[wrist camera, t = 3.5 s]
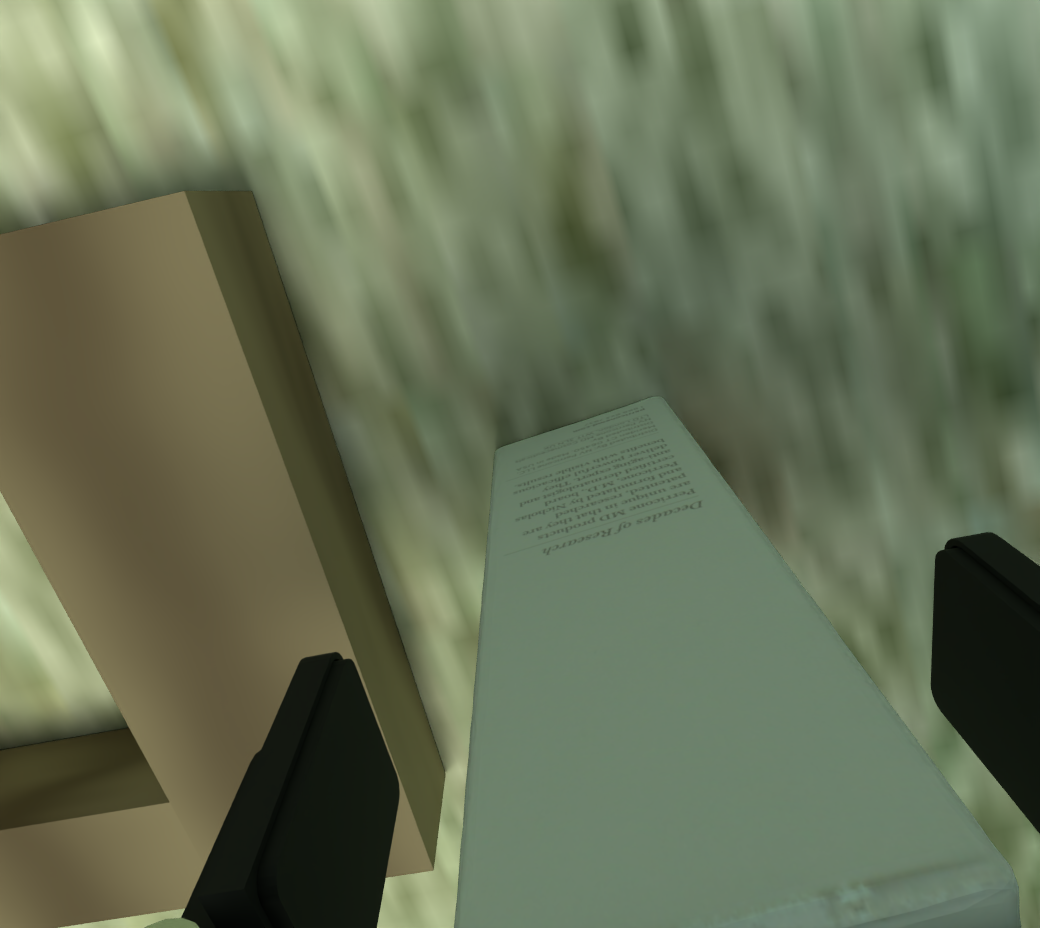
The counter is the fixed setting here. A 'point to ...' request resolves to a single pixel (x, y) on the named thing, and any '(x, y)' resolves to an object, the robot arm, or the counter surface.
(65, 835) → the brown wooden square frame
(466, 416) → the counter surface
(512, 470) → the skincare box
